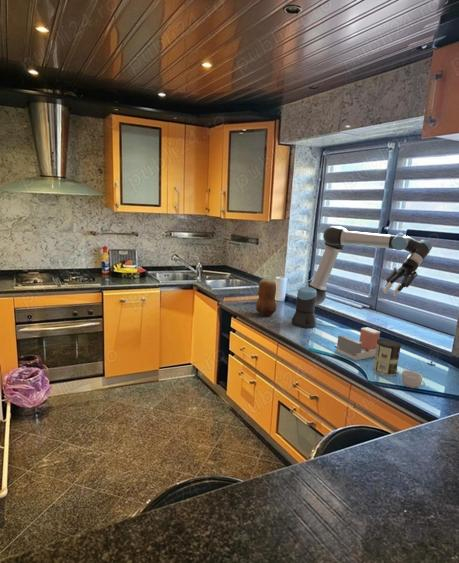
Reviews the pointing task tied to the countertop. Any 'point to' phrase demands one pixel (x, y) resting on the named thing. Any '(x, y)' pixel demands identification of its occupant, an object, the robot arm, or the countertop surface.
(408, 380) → the teacup
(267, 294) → the brown curvy cylinder
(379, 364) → the coffee can
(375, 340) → the orange rectangular block
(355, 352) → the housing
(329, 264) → the robot arm
